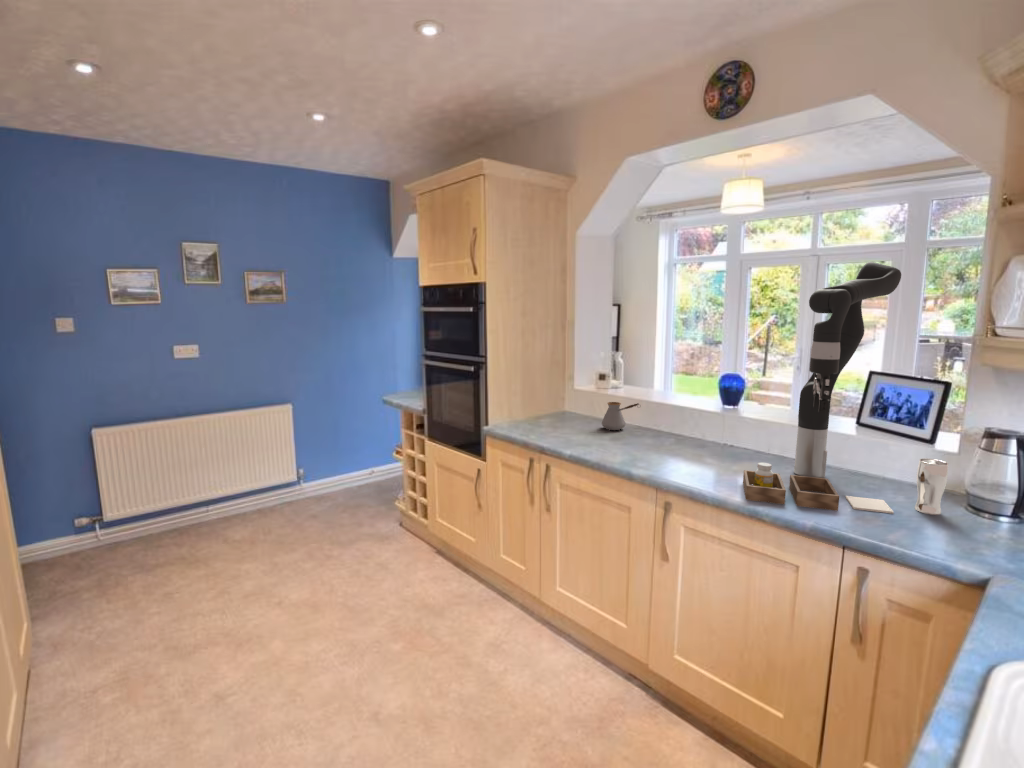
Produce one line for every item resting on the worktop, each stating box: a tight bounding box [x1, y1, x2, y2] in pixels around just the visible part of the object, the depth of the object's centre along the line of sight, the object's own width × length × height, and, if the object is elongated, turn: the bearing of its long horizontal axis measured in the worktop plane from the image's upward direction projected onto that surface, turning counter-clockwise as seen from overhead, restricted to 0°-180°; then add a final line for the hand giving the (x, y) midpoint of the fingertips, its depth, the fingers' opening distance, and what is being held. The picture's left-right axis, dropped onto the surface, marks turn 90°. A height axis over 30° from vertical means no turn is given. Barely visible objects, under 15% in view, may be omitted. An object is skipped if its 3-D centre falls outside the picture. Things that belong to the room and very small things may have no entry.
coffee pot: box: [601, 401, 641, 431], centre depth 251 cm, size 21×12×15 cm, turn 36°
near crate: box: [788, 474, 840, 512], centre depth 164 cm, size 11×17×4 cm, turn 159°
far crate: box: [742, 469, 787, 505], centre depth 169 cm, size 11×17×4 cm, turn 159°
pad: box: [845, 495, 895, 515], centre depth 159 cm, size 10×10×1 cm
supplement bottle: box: [753, 462, 774, 488], centre depth 169 cm, size 5×5×10 cm
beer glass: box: [914, 458, 949, 516], centre depth 154 cm, size 7×7×15 cm
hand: (820, 410), depth 160 cm, fingers open, 8 cm apart
